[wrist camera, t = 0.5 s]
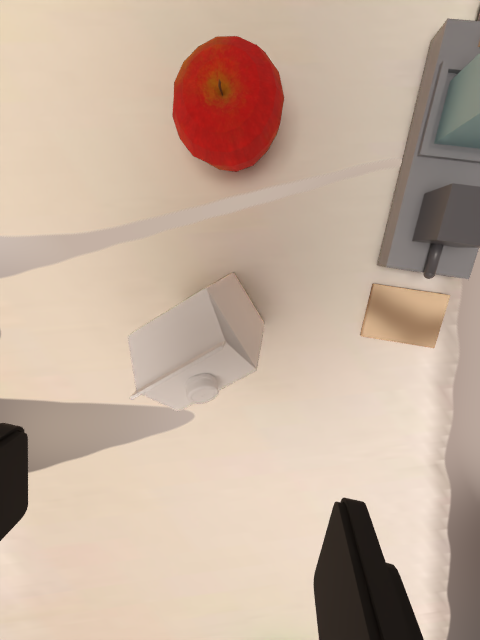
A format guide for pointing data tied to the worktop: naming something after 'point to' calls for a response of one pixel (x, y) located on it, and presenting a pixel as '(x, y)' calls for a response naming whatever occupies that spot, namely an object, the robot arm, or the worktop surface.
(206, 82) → the apple
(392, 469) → the worktop surface
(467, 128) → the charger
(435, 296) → the cork pad
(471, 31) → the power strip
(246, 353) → the milk carton
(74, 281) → the worktop surface
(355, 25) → the worktop surface
